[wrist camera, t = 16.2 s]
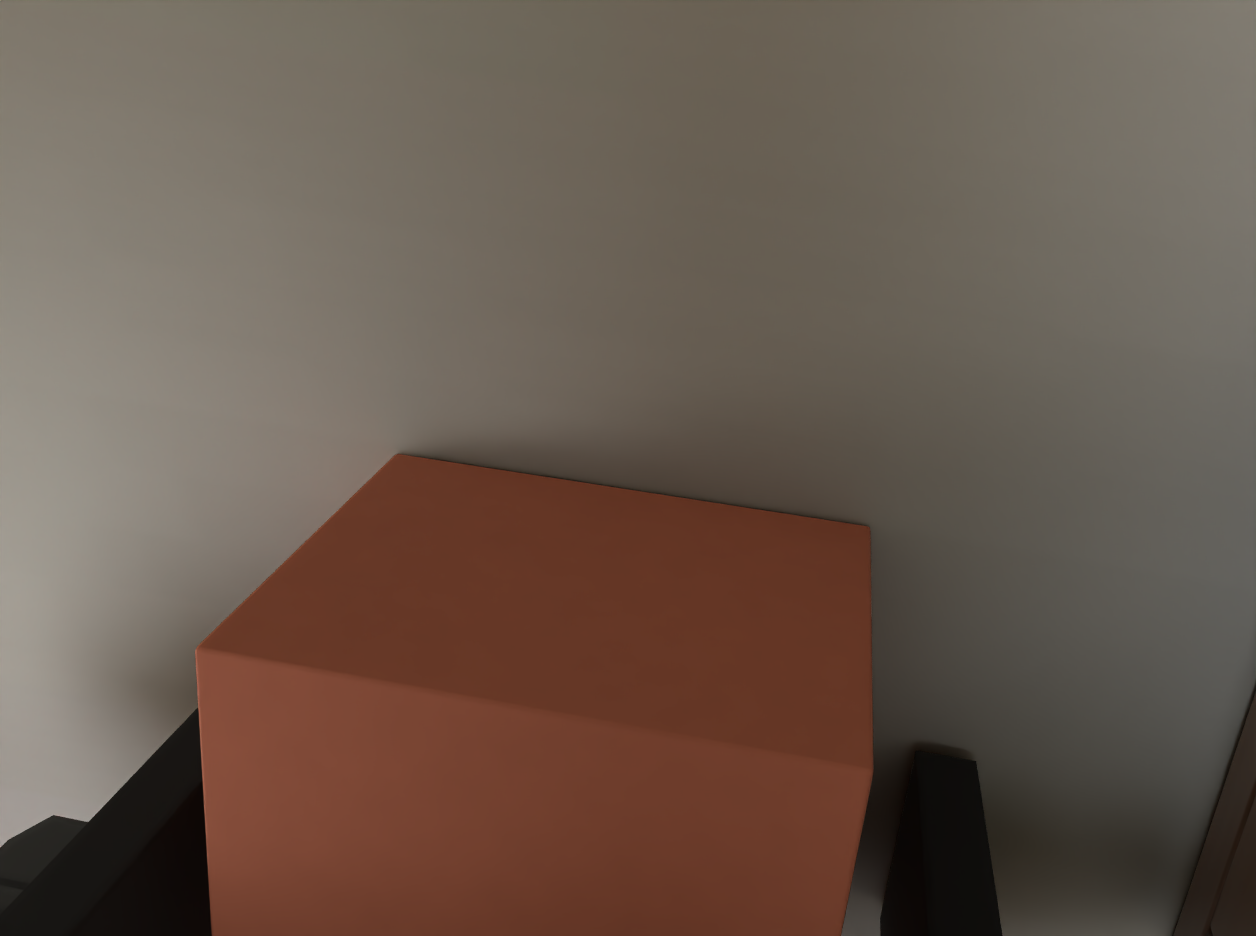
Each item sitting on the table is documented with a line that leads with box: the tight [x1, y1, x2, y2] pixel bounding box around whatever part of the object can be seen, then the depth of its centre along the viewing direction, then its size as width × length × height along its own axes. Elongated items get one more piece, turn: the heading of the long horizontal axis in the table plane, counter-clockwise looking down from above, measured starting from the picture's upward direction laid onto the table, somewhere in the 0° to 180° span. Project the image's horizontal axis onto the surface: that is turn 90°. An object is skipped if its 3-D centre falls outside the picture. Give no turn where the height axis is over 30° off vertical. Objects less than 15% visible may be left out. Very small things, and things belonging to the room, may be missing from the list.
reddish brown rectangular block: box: [195, 454, 873, 936], centre depth 14 cm, size 8×6×5 cm
